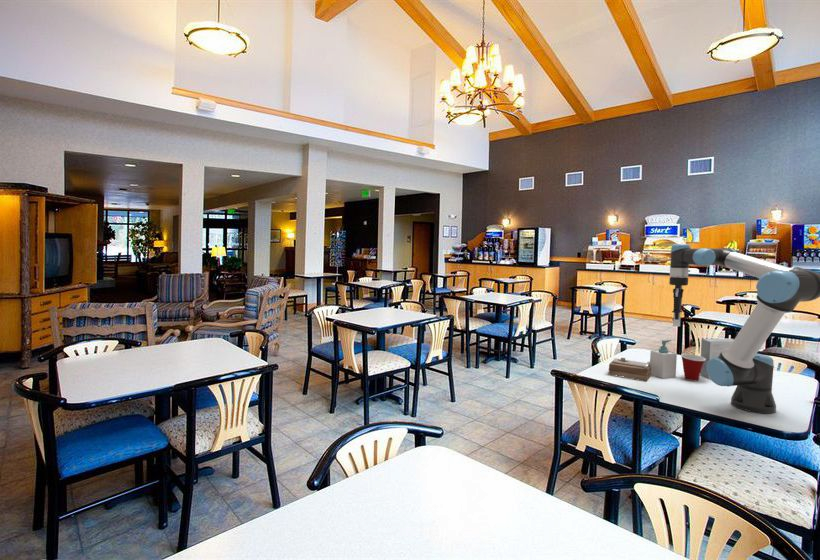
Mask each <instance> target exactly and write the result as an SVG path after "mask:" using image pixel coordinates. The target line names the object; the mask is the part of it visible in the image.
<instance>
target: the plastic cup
mask: <svg viewBox="0 0 820 560" xmlns="http://www.w3.org/2000/svg"><path fill="white" fill-rule="evenodd" d="M680 356H681V360H682V368H683V373H684V374H683V375H684V379H686V380H687V379H688V381H692V380H697V381H699V378H700V376H701V375H700V372H701V369H702V365H703V363H704V361H705V360H706V359H705V358H703V357H701V355H697V354H691V353H681V354H680Z"/></svg>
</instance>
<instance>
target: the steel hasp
mask: <svg viewBox="0 0 820 560" xmlns="http://www.w3.org/2000/svg"><path fill="white" fill-rule="evenodd" d="M612 361H613V362H616V363H622V364H628V365H634V366H640V367H644V366H649V363H647V362H643V361H642V362H641V361H635V360H628V359H625V362H624V361H621V358H617V357H615V358H614V359H612Z"/></svg>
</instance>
